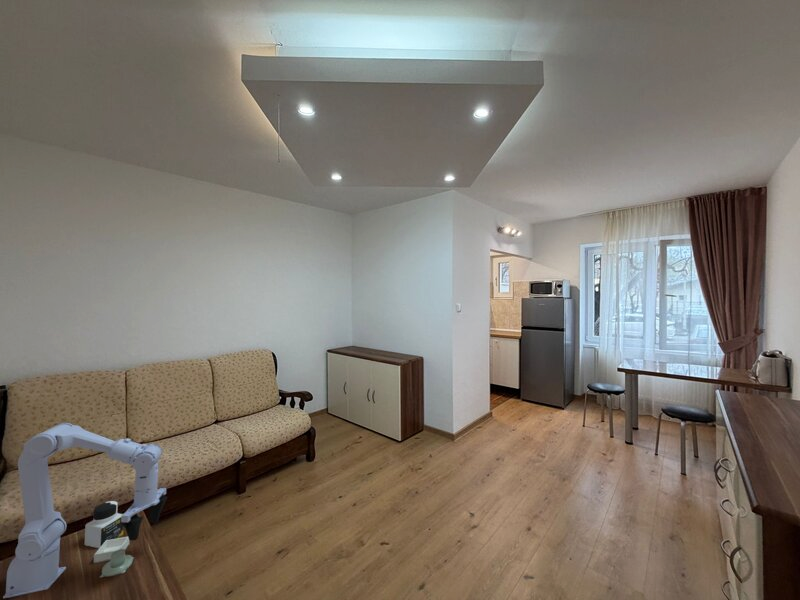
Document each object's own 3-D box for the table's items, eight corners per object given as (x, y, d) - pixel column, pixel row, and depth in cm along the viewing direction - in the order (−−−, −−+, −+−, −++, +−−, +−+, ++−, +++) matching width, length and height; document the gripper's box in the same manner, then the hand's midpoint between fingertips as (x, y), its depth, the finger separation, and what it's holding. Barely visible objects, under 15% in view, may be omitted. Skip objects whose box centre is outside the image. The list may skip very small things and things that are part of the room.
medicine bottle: (100, 549, 103) (102, 512, 104) (83, 546, 105) (85, 509, 105) (123, 534, 110) (125, 499, 111) (107, 531, 112) (109, 497, 112)
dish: (93, 564, 97) (94, 554, 97) (105, 549, 103) (105, 540, 103) (118, 559, 99) (119, 550, 99) (129, 545, 105) (129, 536, 105)
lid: (96, 579, 92) (97, 564, 92) (109, 560, 98) (110, 547, 98) (125, 573, 94) (126, 558, 94) (136, 555, 100) (137, 542, 101)
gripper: (138, 501, 92) (136, 548, 91) (175, 475, 106) (173, 516, 106) (115, 499, 92) (112, 547, 92) (155, 474, 107) (153, 515, 106)
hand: (143, 530), depth 99 cm, fingers open, 7 cm apart
